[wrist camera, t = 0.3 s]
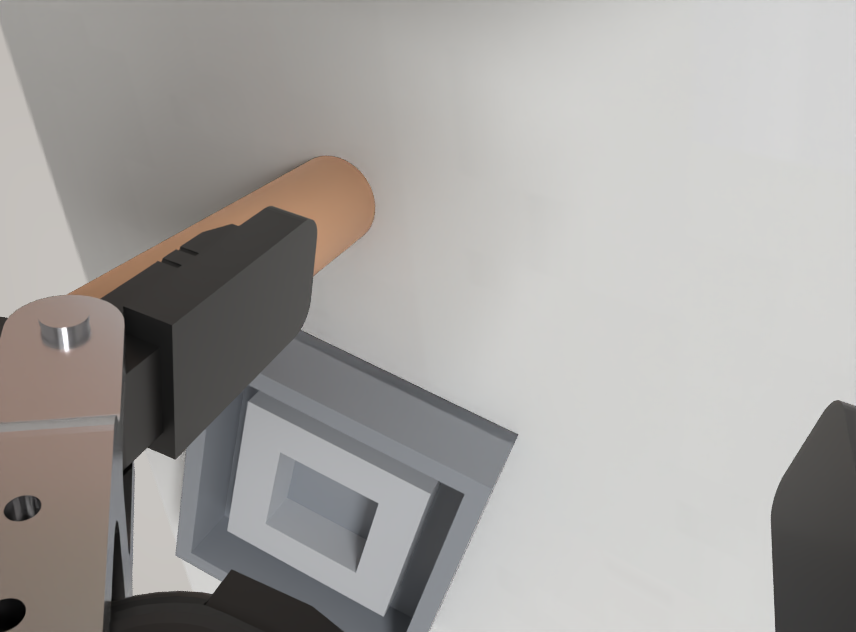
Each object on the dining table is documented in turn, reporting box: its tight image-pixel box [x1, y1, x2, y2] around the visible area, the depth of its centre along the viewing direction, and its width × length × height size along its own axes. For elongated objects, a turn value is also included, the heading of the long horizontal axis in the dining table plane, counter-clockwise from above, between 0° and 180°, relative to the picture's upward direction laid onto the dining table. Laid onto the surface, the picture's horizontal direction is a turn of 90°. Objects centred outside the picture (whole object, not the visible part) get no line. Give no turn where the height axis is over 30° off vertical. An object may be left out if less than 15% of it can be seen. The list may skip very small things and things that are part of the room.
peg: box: [67, 156, 375, 299], centre depth 26 cm, size 4×4×17 cm
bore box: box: [176, 330, 518, 632], centre depth 39 cm, size 16×15×4 cm
